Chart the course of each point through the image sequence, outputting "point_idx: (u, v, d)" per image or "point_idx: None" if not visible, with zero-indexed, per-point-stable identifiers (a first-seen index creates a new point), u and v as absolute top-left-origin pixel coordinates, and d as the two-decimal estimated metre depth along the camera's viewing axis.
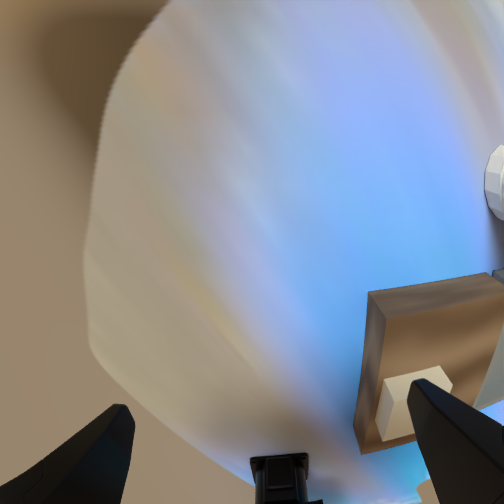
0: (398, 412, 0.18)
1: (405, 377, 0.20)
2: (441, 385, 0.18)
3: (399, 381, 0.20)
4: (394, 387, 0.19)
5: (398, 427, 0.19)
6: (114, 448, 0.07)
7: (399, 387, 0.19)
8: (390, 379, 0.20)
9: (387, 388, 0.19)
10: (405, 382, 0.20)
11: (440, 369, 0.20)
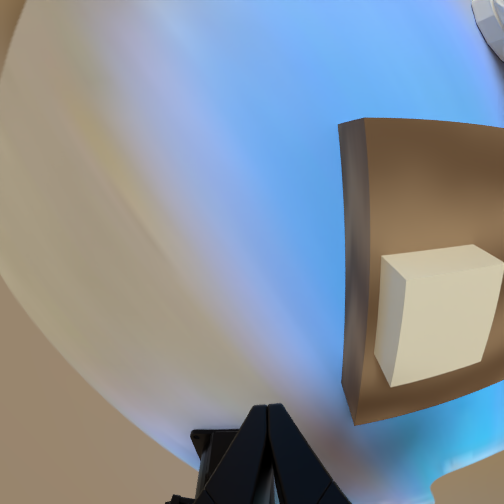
0: (417, 313, 0.10)
1: (420, 254, 0.12)
2: (486, 263, 0.10)
3: (410, 258, 0.11)
4: (402, 264, 0.11)
5: (418, 354, 0.11)
6: (268, 454, 0.07)
7: (412, 264, 0.11)
8: (393, 255, 0.12)
9: (390, 266, 0.11)
10: (421, 258, 0.11)
11: (476, 247, 0.11)
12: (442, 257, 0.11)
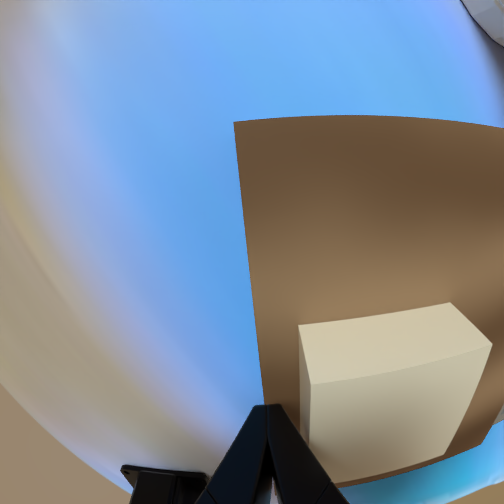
0: (334, 421, 0.07)
1: (359, 324, 0.08)
2: (462, 345, 0.06)
3: (341, 332, 0.08)
4: (322, 346, 0.08)
5: (343, 459, 0.07)
6: (269, 454, 0.07)
7: (336, 347, 0.07)
8: (316, 326, 0.08)
9: (302, 347, 0.08)
10: (357, 335, 0.08)
11: (453, 309, 0.08)
12: (393, 332, 0.08)
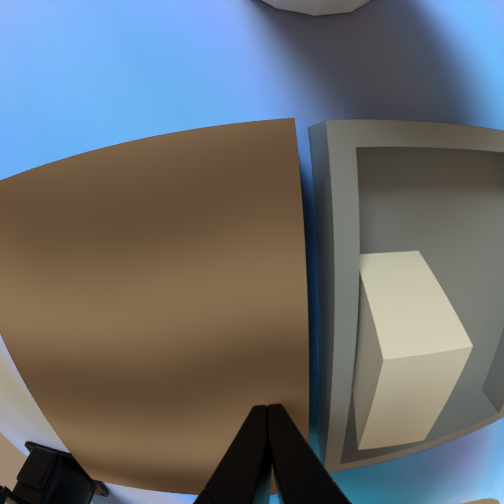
0: None
1: (384, 312, 0.08)
2: (418, 263, 0.10)
3: (397, 326, 0.07)
4: (421, 340, 0.07)
5: None
6: (268, 454, 0.07)
7: (423, 330, 0.07)
8: (388, 344, 0.07)
9: (423, 355, 0.06)
10: (404, 315, 0.08)
11: (368, 255, 0.11)
12: (399, 293, 0.08)
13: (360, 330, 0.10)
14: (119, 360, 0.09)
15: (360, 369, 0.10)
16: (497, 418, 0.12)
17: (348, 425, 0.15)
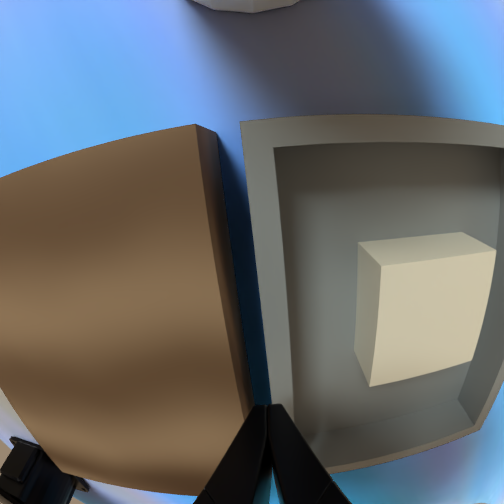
0: None
1: (458, 251, 0.09)
2: (382, 242, 0.11)
3: (467, 248, 0.09)
4: (471, 242, 0.10)
5: None
6: (268, 454, 0.07)
7: (462, 241, 0.10)
8: (484, 249, 0.09)
9: (480, 242, 0.10)
10: (455, 246, 0.10)
11: (380, 260, 0.09)
12: (432, 248, 0.10)
13: (429, 307, 0.09)
14: (64, 358, 0.09)
15: (444, 327, 0.10)
16: (473, 430, 0.12)
17: (309, 432, 0.15)
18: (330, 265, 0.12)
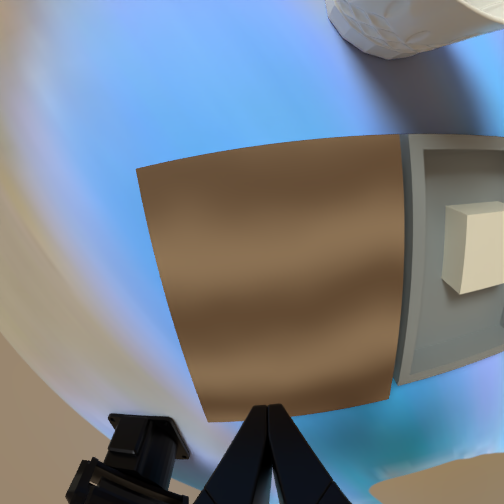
0: None
1: (500, 209, 0.14)
2: (458, 205, 0.16)
3: None
4: None
5: None
6: (268, 454, 0.07)
7: (500, 205, 0.15)
8: None
9: None
10: (498, 207, 0.15)
11: (464, 212, 0.15)
12: (486, 208, 0.15)
13: (488, 241, 0.15)
14: (284, 286, 0.15)
15: (496, 255, 0.15)
16: None
17: None
18: (431, 219, 0.17)
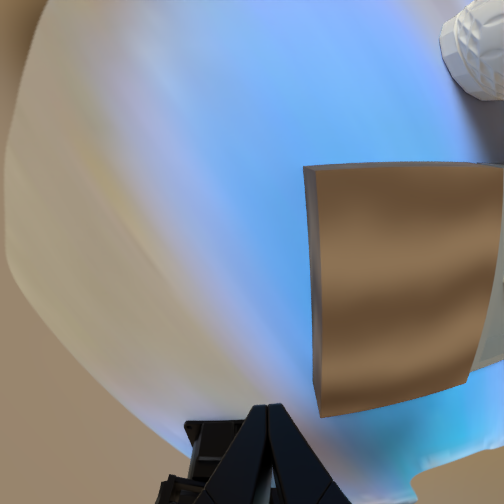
0: None
1: None
2: None
3: None
4: None
5: None
6: (268, 454, 0.07)
7: None
8: None
9: None
10: None
11: None
12: None
13: None
14: (420, 285, 0.16)
15: None
16: None
17: None
18: None
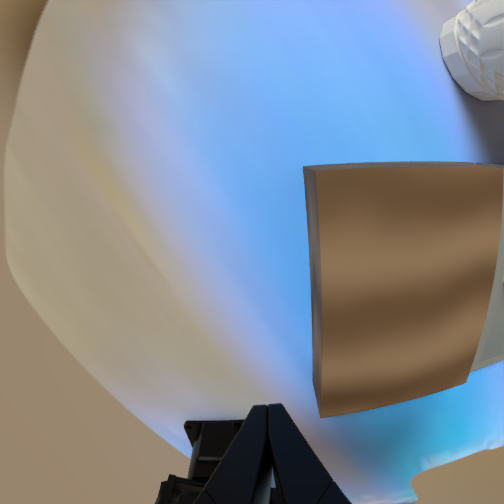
0: None
1: None
2: None
3: None
4: None
5: None
6: (268, 454, 0.07)
7: None
8: None
9: None
10: None
11: None
12: None
13: None
14: (420, 285, 0.16)
15: None
16: None
17: None
18: None
